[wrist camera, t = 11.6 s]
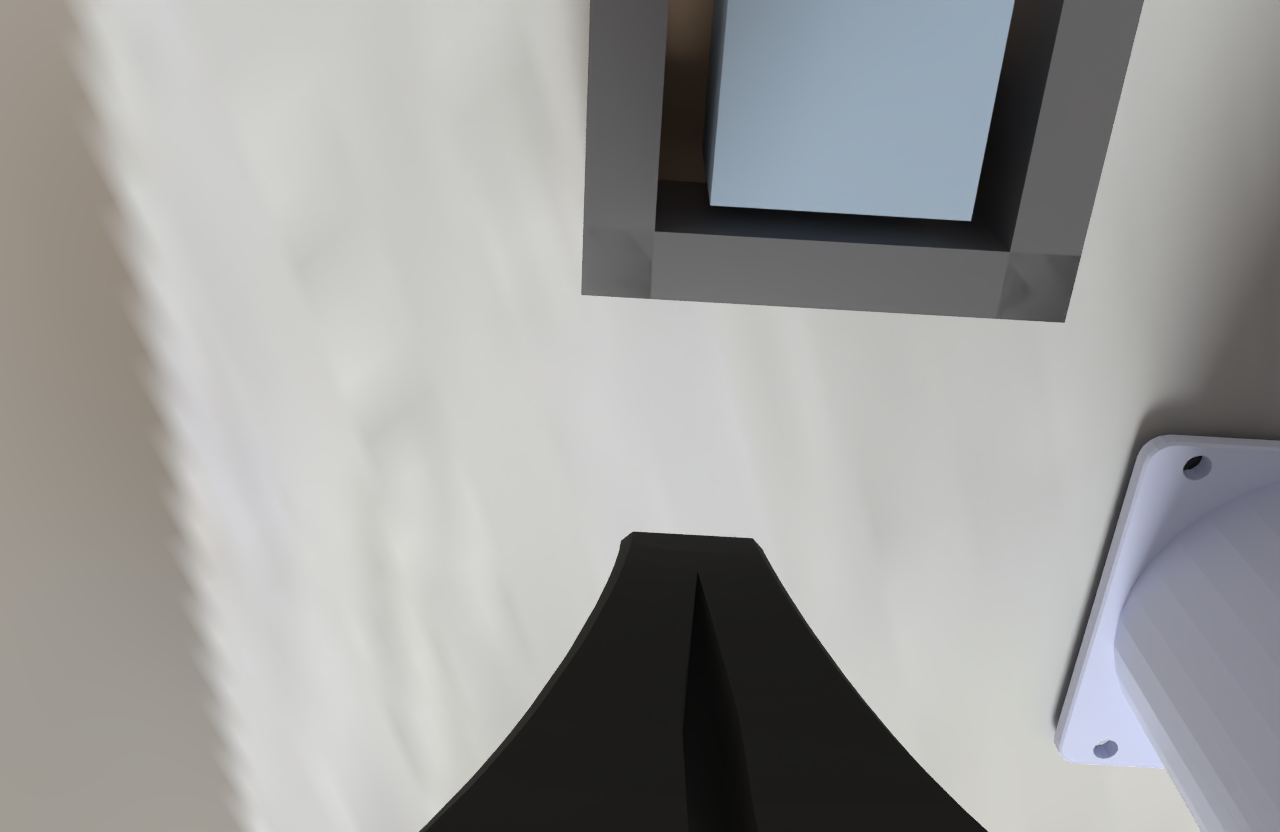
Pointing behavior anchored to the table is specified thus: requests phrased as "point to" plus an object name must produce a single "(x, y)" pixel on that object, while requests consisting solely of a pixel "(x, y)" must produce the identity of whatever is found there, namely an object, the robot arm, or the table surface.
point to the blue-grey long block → (852, 104)
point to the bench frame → (837, 242)
